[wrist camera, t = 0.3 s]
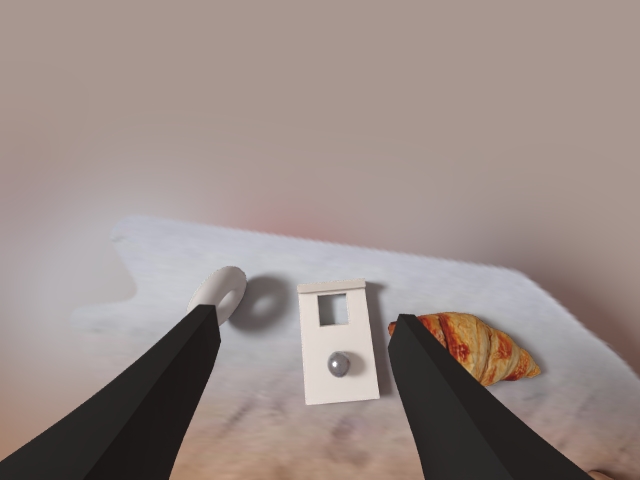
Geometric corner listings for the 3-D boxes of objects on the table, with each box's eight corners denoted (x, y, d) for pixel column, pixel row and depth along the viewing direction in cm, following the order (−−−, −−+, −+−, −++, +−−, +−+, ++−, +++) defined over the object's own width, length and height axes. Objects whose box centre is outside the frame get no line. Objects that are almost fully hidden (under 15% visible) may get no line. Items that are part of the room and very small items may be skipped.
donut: (241, 267, 40) (213, 255, 30) (258, 277, 39) (235, 268, 30) (206, 322, 38) (164, 328, 28) (224, 333, 37) (187, 343, 28)
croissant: (510, 341, 39) (550, 321, 33) (534, 415, 32) (590, 407, 26) (382, 309, 40) (398, 284, 34) (379, 374, 34) (399, 357, 28)
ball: (351, 372, 33) (353, 380, 30) (328, 374, 33) (328, 382, 30) (348, 347, 34) (350, 352, 31) (326, 349, 34) (326, 354, 31)
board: (376, 391, 34) (381, 402, 31) (307, 398, 35) (305, 409, 31) (361, 280, 39) (364, 278, 35) (299, 286, 39) (297, 284, 35)
